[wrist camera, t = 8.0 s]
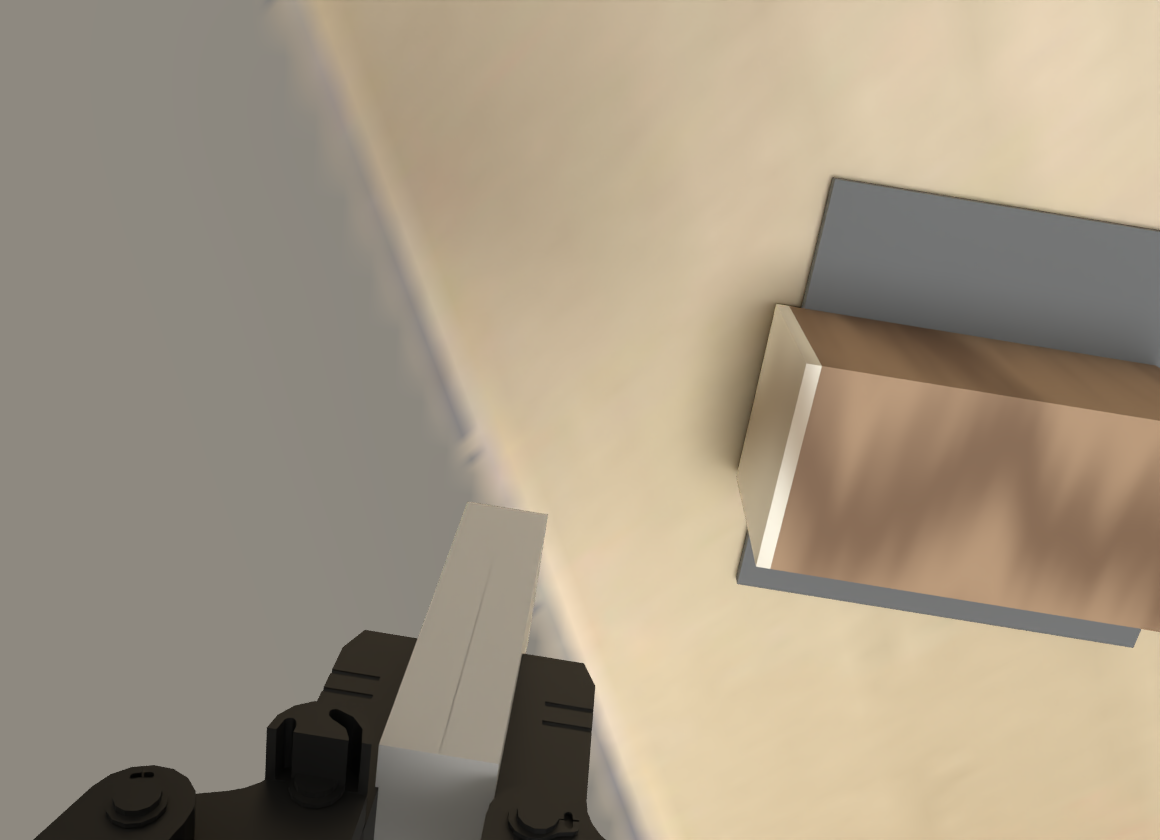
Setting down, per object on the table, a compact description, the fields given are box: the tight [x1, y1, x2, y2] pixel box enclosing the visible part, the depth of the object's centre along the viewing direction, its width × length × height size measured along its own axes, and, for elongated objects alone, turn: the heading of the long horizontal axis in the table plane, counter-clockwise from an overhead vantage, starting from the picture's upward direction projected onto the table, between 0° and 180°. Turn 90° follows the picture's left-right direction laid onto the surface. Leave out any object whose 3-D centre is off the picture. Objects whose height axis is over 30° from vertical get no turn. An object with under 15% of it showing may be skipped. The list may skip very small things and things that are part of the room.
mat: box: [736, 177, 1160, 648], centre depth 32 cm, size 14×14×1 cm
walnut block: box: [736, 304, 1160, 632], centre depth 29 cm, size 6×6×12 cm
